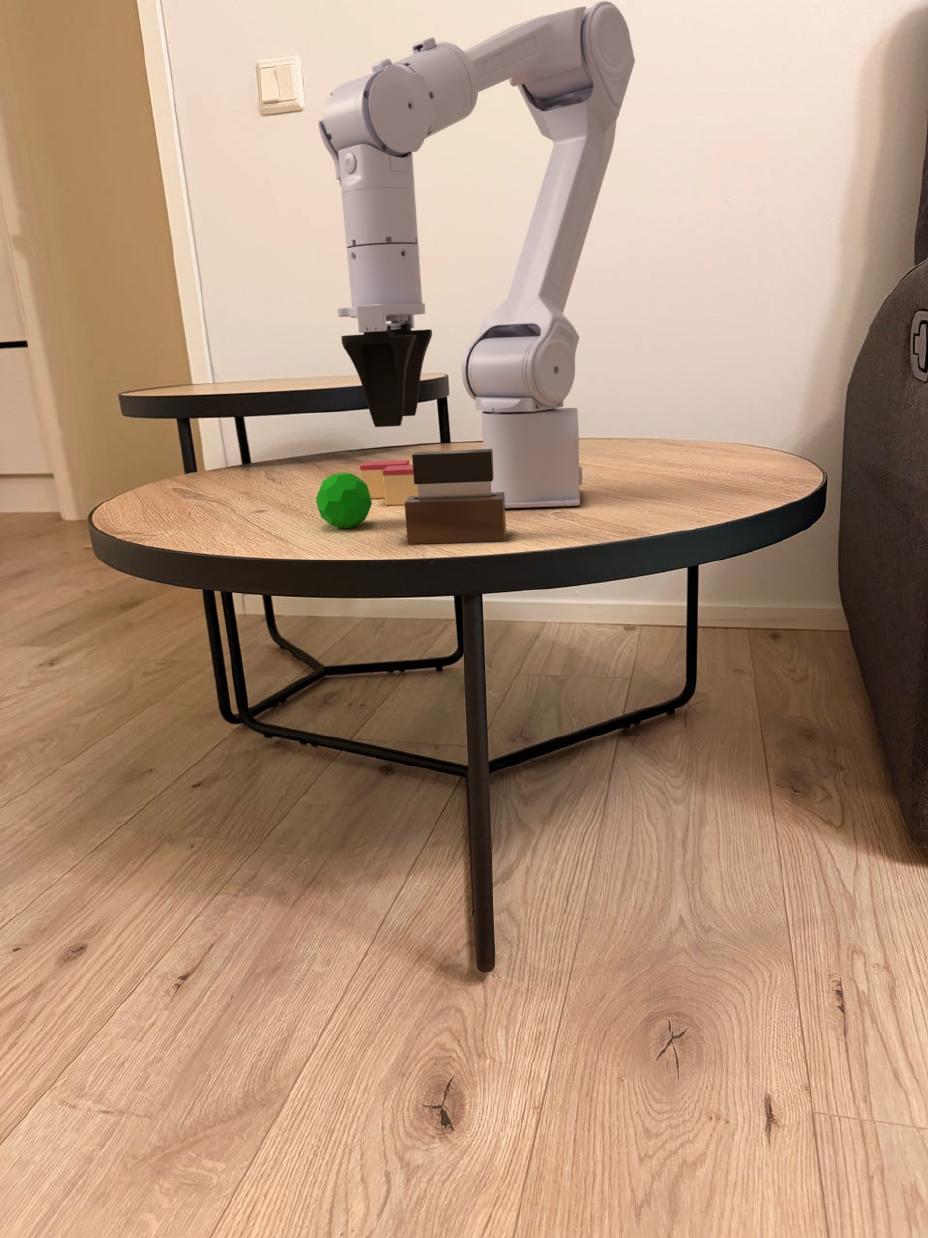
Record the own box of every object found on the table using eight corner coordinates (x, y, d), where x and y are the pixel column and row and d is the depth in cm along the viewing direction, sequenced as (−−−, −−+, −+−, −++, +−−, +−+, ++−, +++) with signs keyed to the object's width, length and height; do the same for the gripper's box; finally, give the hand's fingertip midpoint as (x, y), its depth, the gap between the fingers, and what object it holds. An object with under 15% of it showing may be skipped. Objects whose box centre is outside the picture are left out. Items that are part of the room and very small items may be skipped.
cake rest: (443, 497, 95) (441, 463, 94) (440, 503, 92) (438, 468, 91) (390, 499, 95) (387, 465, 94) (385, 505, 92) (382, 470, 91)
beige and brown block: (496, 535, 77) (492, 448, 75) (495, 539, 76) (491, 451, 73) (420, 537, 78) (414, 452, 75) (418, 542, 76) (411, 454, 74)
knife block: (506, 532, 78) (504, 491, 77) (504, 541, 75) (502, 498, 74) (412, 535, 78) (409, 495, 77) (407, 544, 76) (404, 502, 75)
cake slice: (411, 492, 99) (409, 459, 98) (407, 497, 96) (405, 463, 95) (367, 493, 99) (364, 461, 98) (362, 498, 96) (359, 465, 95)
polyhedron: (310, 532, 82) (304, 479, 80) (330, 520, 86) (325, 470, 85) (363, 532, 81) (358, 478, 79) (381, 520, 85) (376, 469, 84)
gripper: (353, 255, 80) (366, 413, 85) (310, 244, 67) (329, 433, 71) (432, 250, 79) (442, 410, 84) (405, 237, 66) (419, 429, 70)
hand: (396, 420), depth 77 cm, fingers open, 7 cm apart
